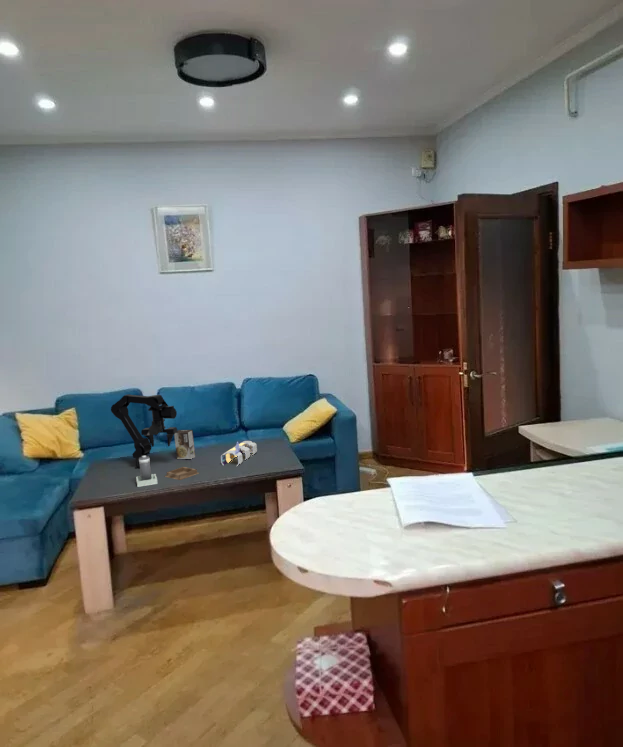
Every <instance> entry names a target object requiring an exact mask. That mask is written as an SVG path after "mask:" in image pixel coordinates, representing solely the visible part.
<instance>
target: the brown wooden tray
mask: <svg viewBox="0 0 623 747" xmlns="http://www.w3.org/2000/svg"><path fill="white" fill-rule="evenodd" d="M199 474H200V472H198V470H197V469H195V468H191V467H186V466H181V467H178V468H176V469H172V470H170V471H166V475H164V477H165V478H168V479H169V478H170V479H172V480H173V479H174V480H178V481H182V480H185V479H188V478H190V477H194V476H195V475H199Z"/></svg>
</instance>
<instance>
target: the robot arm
mask: <svg viewBox="0 0 623 747" xmlns="http://www.w3.org/2000/svg"><path fill="white" fill-rule="evenodd" d="M131 403H132V404H143V405H147V406H148V407H149V408H148V409H147V410H148V411H149V412H150V411H151V415H152V416H151V417H152V421H151V425H150V426H149V427H145V428H143V429H141V432H140V431H139V430H138V428H137V426H136V425H135V423H134V422H133V420H132V418H131V417H130V415H129V408H128V407H129V406H130V404H131ZM110 412H111V413H112V414H113V415H114V417H116V418H117V419H119V420H120V421H121V423H122V424H123V426H124V428H125V430H126V431H127V432H128V434H129V436H130V437H131V439H132V440H133V445H134V446H133V447H134V452H133V453H132V454H131V456H132V457H133V458H134V459H135V460H134V461H135V466H134V469H140V464H139V458H140V457H142V456H144V455H146V456H149V455H150V453H151V450H152V448H153V447H154V446H155V441H154V440H155V439H154V436H157V435H159V434H160V433H161V434H162V433H166V437H167V438H166V439H167V441H166V442H167V446H168V447H170V446H171V442H172V439H173V436H174V434H175V433H177V432H178V428H177V427H176V426H172V427H171V426H170V427H167V428H166V425H165V421H166V419H168V420H169V419H173V420H174V419H176V418H177V416H178V413H177V412H178V411H177V409H176V408H175V406H174V405H169V404H168V403H167V402H166V401H165V399H164V397H163V396H162V395H161V394H154V395H138V394H137V395H136V394H130V393H129V394H125V395H123V396H122V397H121V398H120V399H118V401H116V402H115V403H113V404H112V405H111V407H110Z"/></svg>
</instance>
